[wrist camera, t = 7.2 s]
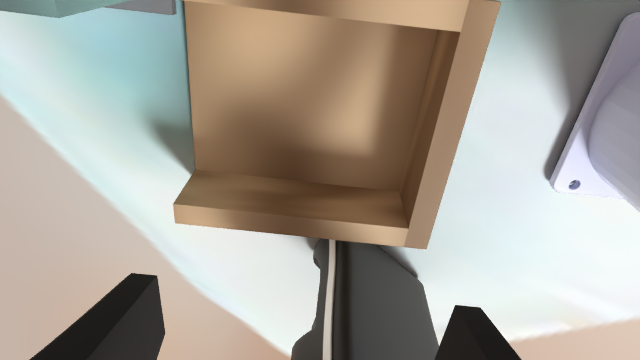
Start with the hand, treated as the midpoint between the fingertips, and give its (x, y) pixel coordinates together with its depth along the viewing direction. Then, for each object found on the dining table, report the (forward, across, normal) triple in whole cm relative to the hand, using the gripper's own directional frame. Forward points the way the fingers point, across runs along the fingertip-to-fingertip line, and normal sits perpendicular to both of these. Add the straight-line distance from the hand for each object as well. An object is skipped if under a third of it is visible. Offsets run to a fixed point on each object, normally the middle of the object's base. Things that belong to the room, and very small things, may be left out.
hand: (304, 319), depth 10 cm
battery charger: (+11, -3, +8) cm, 13 cm away
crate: (+10, 0, -2) cm, 11 cm away
